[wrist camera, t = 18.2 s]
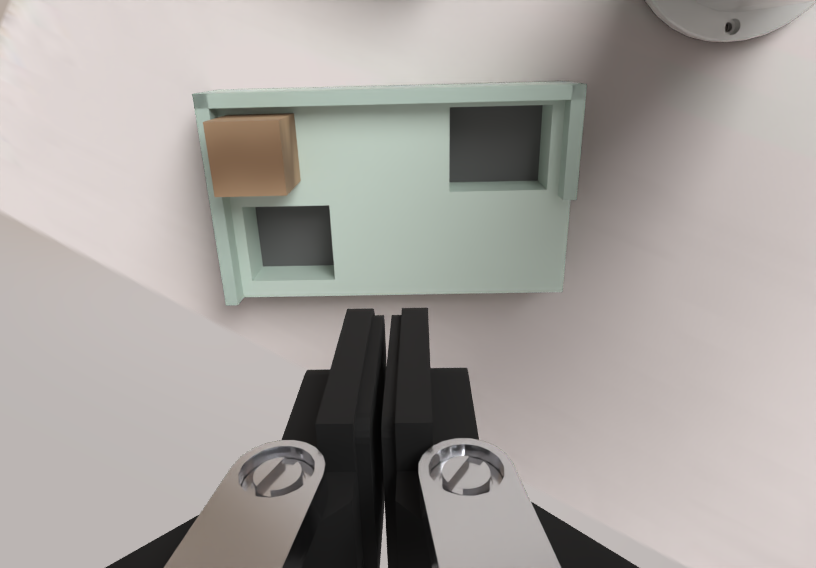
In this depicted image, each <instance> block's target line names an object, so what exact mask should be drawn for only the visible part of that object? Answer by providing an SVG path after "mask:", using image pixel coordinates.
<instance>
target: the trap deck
mask: <svg viewBox="0 0 816 568" xmlns="http://www.w3.org/2000/svg"><path fill="white" fill-rule="evenodd" d="M586 90H587V84H583V83H576V82H570V81H552V82H513V83H473V84H433V85H393V86H353V87H313V88H273V89H233V90H214V91H208V92H201V93H195V94H192V96H193V102H194V109H195V115H196V121H197V127H198V134H199V140H200V146H201V152H202V159H203V165H204V171H205V177H206V184H207V190H208V196H209V202H210V209H211V215H212V221H213V227H214V234H215V240H216V246H217V252H218V259H219V265H220V271H221V277H222V284H223V290H224V296H225V302H226V305H239V303H240V302H241V301H242V299H243V298H244V297H292V296H353V295H414V294H476V293H537V292H563V283H564V271H565V260H566V248H567V236H568V225H569V213H570V201H571V200H577V190H578V179H579V168H580V157H581V146H582V134H583V123H584V112H585V101H586ZM279 113H294V117H295V127H296V137H297V147H298V157H299V167H300V178H301V181H300V182H299V183H298V184H297V185H296V186H295V187H294V188H293V190H292V191H291V192H290V193H289V194H288V195H287V196H247V197H215V196H214V190H213V184H212V177H211V171H210V165H209V159H208V152H207V146H206V140H205V133H204V127H203V122H205V121H208V120H211V119H215V118H218V117H221V116H225V115H241V114H279Z"/></svg>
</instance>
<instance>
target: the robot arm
mask: <svg viewBox="0 0 816 568" xmlns="http://www.w3.org/2000/svg"><path fill="white" fill-rule="evenodd" d="M645 1H646V2H647V4H648V5H649V6H650V8H651V9H652V10H653V12H654V13H655V14H656V16H657V17H659V18H660V19H661V20H662V21H663V22H665V23H666V24H667V25H668V26H669V27H671V28H672V29H674V30H676V31H678V32H680V33H682V34H684V35H686V36H688V37H691V38H695V39H700V40H704V41H710V42H731V41H742V40H748V39H751V38H755V37H759V36H762V35H766V34H768V33H770V32H772V31H774V30H776V29H779V28H781V27H783V26H785V25H787V24H788V23H790V22H791V21H793V20H794V19H796V18H797V17H799V16H800V15H802V14H803V13H804V12H806V11H807V10H808V9H809V8H810V7H811V6H813V5H814V4H815V3H816V0H645ZM726 23H727V24H728V26H729V28H728V30H727V31H726V32H725V25H726ZM384 501H385V514H386V535H387V555H388V568H639V567H637V566H636V565H634V564H632V563H631V562H629V561H627V560H626V559H624V558H623V557H621V556H619V555H618V554H616V553H614V552H613V551H611V550H609V549H608V548H606V547H604V546H603V545H601V544H600V543H598V542H596V541H595V540H593V539H591V538H589V537H588V536H586V535H585V534H583V533H582V532H580V531H578V530H577V529H575V528H573V527H571V526H570V525H568V524H567V523H565V522H564V521H562V520H560V519H558V518H557V517H555V516H554V515H552V514H550V513H548V512H547V511H545V510H544V509H542V508H540V507H539V506H537V505H536V504H534V503H532V502H531V501H530V499H529V497H528V495H527V492H526V490H525V488H524V486H523V484H522V482H521V479H520V477H519V475H518V473H517V471H516V469H515V466H514V464H513V462H512V461H511V460H510V458H509V457H508V455H507V454H506V453H505V452H503V451H502V450H501V449H499V448H498V447H497V446H495V445H492V444H490V443H487V442H485V441H481V440H479V437H478V431H477V425H476V419H475V412H474V406H473V400H472V394H471V388H470V381H469V375H468V370H467V368H430V349H429V325H428V308H402V315H392V318H391V328H390V338H389V349H388V359H387V366H386V343H385V322H384V315H375V314H374V309H347V312H346V315H345V319H344V323H343V326H342V330H341V333H340V337H339V341H338V344H337V348H336V351H335V355H334V358H333V362H332V366H331V369H330V370H307V371H306V373H305V376H304V379H303V381H302V384H301V387H300V390H299V392H298V395H297V398H296V401H295V404H294V406H293V409H292V412H291V415H290V418H289V421H288V424H287V426H286V429H285V432H284V435H283V438H282V440H279V441H274V442H269V443H265V444H263V445H260V446H258V447H255V448H253V449H251V450H250V451H248V452H247V453H245V454H244V455H242V456H241V457H240V458H239V459H238V460H237V461H236V462H235V463H234V464H233V466H232V467H231V468H230V470H229V471H228V473H227V474H226V476H225V477H224V479H223V480H222V482H221V483H220V485H219V486H218V488H217V489H216V491H215V492H214V494H213V495H212V497H211V498H210V500H209V501H208V503H207V504H206V505H205V507H204V508H203V510H202V511H201V513H200V514H199V515H198V516H196V517H194V518H192V519H191V520H189V521H187V522H186V523H184V524H182V525H180V526H178V527H176V528H175V529H173V530H171V531H169V532H168V533H166V534H164V535H162V536H161V537H159V538H157V539H155V540H154V541H152V542H150V543H148V544H147V545H145V546H143V547H141V548H139V549H138V550H136V551H134V552H132V553H131V554H129V555H127V556H125V557H123V558H122V559H120V560H118V561H116V562H114V563H113V564H111V565H110V566H107V567H106V568H380V554H381V542H382V528H383V514H384Z"/></svg>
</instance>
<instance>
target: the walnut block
mask: <svg viewBox="0 0 816 568" xmlns="http://www.w3.org/2000/svg"><path fill="white" fill-rule="evenodd" d="M203 127H204V133H205V140H206V146H207V152H208V159H209V165H210V171H211V177H212V184H213V190H214V196H215V197H247V196H287V195H288V194H289V193H290V192H291V191H292V190H293V188H294V187H295V186H296V185H297V184H298V183H299V182H300V181H301V178H300V167H299V157H298V147H297V137H296V127H295V117H294V113H279V114H241V115H225V116H221V117H218V118H215V119H211V120H208V121H205V122H203Z"/></svg>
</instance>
